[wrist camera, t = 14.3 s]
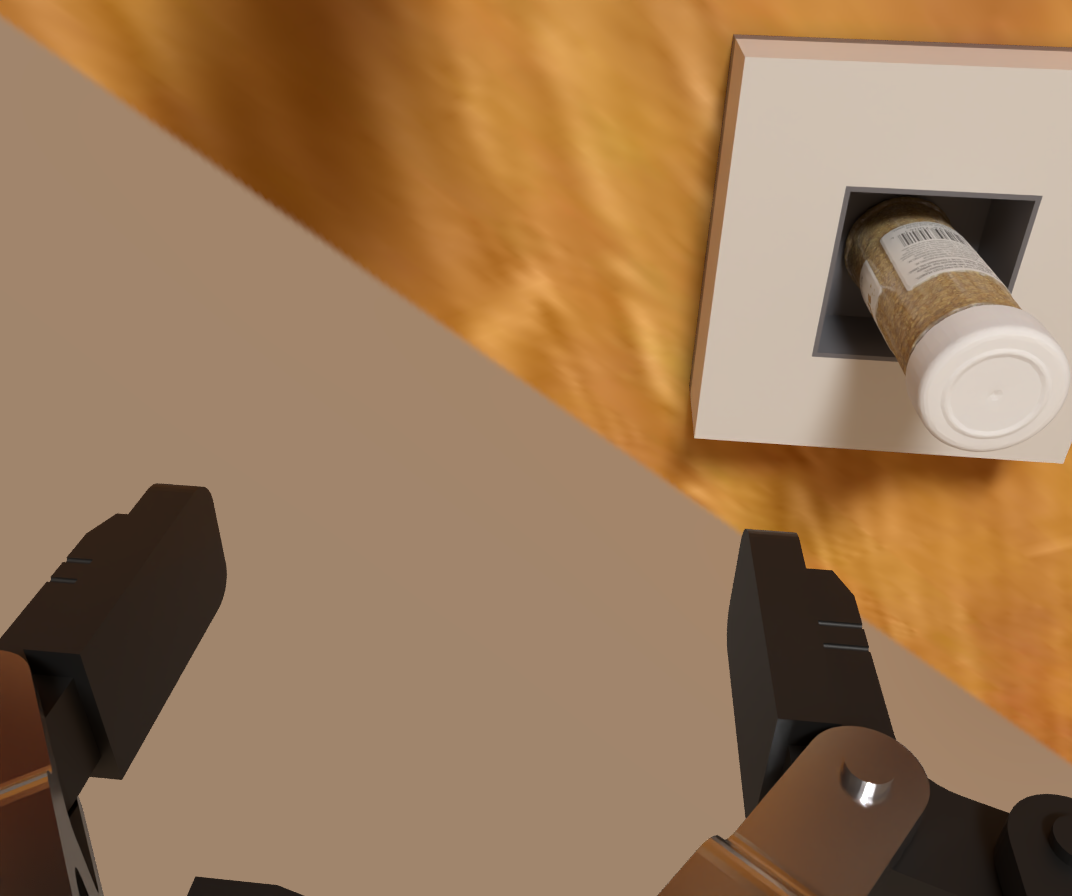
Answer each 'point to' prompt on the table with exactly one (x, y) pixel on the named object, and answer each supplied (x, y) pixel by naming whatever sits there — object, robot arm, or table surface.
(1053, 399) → the sprinkles bottle
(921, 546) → the table surface
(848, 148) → the socket block
